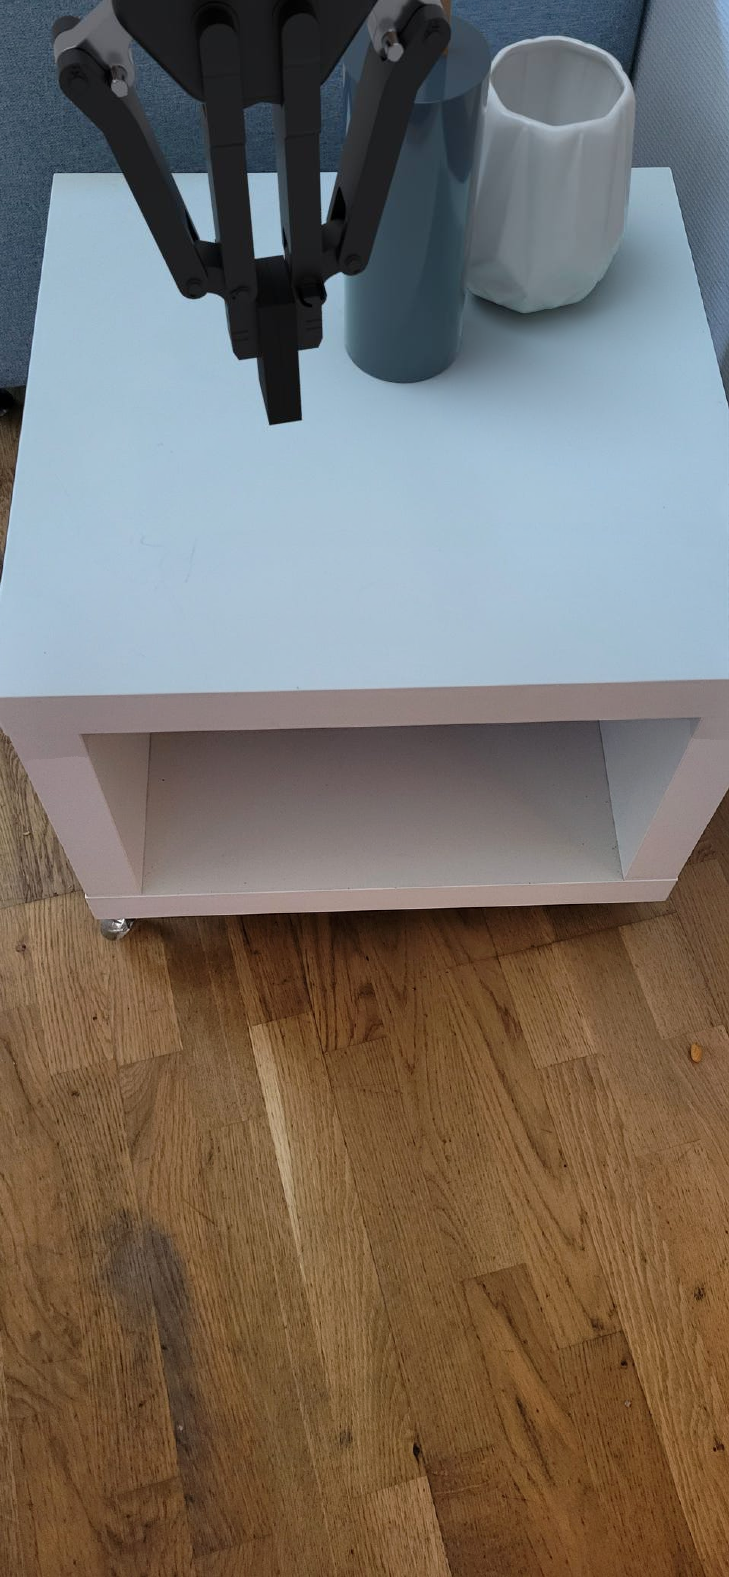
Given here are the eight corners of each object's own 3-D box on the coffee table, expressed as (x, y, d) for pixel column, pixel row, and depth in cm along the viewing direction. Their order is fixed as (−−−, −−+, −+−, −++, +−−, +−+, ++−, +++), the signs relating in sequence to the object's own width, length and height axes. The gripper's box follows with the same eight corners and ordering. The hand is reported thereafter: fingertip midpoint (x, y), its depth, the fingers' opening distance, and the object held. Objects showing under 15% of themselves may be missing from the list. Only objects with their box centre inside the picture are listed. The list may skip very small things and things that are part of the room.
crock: (355, 390, 86) (357, -126, 56) (335, 304, 90) (326, -224, 59) (471, 374, 87) (537, -143, 56) (446, 290, 91) (495, -239, 60)
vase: (641, 242, 93) (691, 55, 80) (570, 354, 88) (611, 176, 74) (486, 184, 96) (509, -6, 82) (408, 290, 91) (418, 106, 77)
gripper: (437, -348, 32) (403, 319, 54) (-32, -305, 31) (125, 360, 52) (507, -205, 29) (441, 441, 50) (-11, -151, 28) (146, 488, 49)
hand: (280, 400), depth 51 cm, fingers closed
